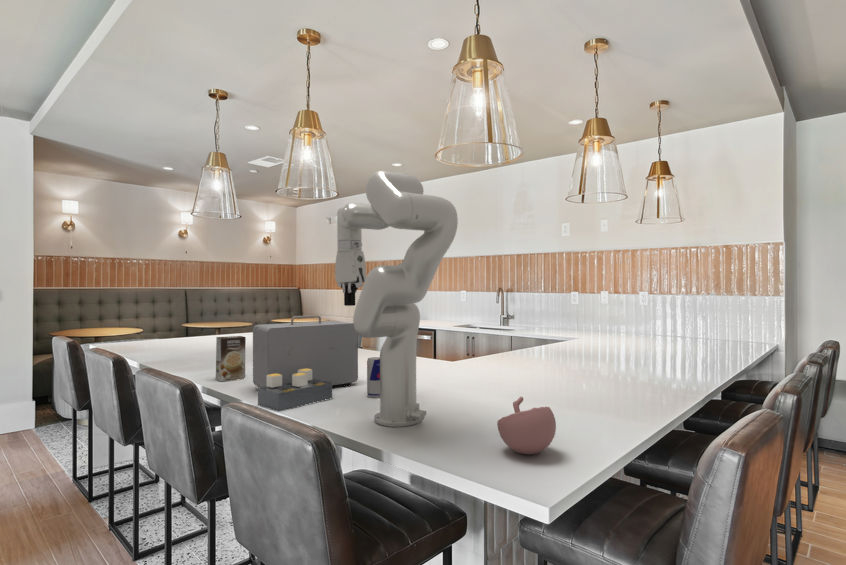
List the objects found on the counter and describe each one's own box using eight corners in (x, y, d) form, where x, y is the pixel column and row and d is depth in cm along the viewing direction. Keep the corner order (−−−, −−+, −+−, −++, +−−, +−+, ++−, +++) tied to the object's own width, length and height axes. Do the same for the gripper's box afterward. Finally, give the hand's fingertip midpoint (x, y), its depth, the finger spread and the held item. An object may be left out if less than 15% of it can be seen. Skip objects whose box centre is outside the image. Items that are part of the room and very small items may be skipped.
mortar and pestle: (529, 439, 106) (529, 389, 106) (568, 456, 96) (568, 400, 96) (486, 448, 101) (486, 395, 101) (523, 467, 90) (522, 408, 90)
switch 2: (312, 379, 149) (312, 369, 149) (303, 381, 146) (303, 370, 146) (306, 378, 151) (306, 368, 151) (297, 380, 148) (297, 369, 148)
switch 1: (282, 385, 140) (282, 374, 140) (272, 387, 138) (272, 376, 138) (276, 384, 142) (276, 373, 142) (266, 386, 140) (266, 374, 140)
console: (332, 398, 146) (332, 381, 146) (278, 411, 131) (278, 392, 131) (310, 393, 153) (310, 377, 153) (257, 405, 138) (257, 387, 138)
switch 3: (307, 384, 141) (307, 373, 141) (298, 386, 139) (298, 375, 139) (301, 383, 143) (301, 372, 143) (292, 385, 140) (292, 374, 141)
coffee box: (220, 382, 171) (220, 338, 171) (215, 379, 176) (215, 337, 176) (245, 378, 177) (245, 336, 177) (240, 376, 182) (240, 335, 182)
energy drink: (383, 398, 146) (382, 359, 146) (366, 398, 146) (365, 359, 147) (384, 394, 152) (384, 357, 152) (368, 394, 152) (368, 357, 152)
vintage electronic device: (335, 377, 180) (335, 312, 180) (358, 385, 165) (357, 314, 165) (251, 388, 161) (251, 316, 161) (267, 398, 146) (267, 319, 147)
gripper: (374, 246, 145) (375, 305, 144) (343, 249, 154) (343, 304, 154) (356, 244, 139) (356, 306, 139) (324, 247, 148) (325, 305, 148)
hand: (349, 305), depth 146 cm, fingers closed
